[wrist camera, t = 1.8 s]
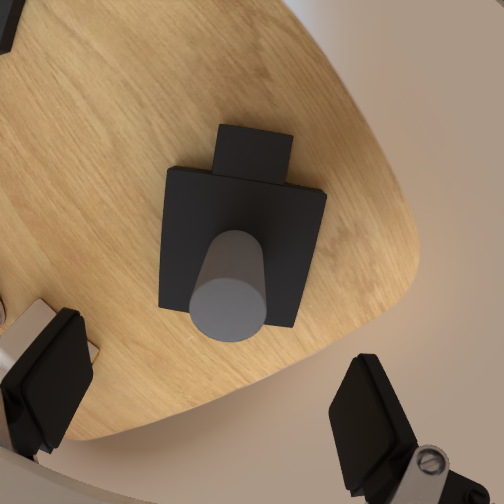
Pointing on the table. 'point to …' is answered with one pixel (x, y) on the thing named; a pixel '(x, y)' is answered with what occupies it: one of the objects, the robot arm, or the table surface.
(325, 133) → the table surface
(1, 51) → the pad
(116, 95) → the table surface
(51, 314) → the medicine bottle
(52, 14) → the table surface
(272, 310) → the pad
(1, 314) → the pill bottle
